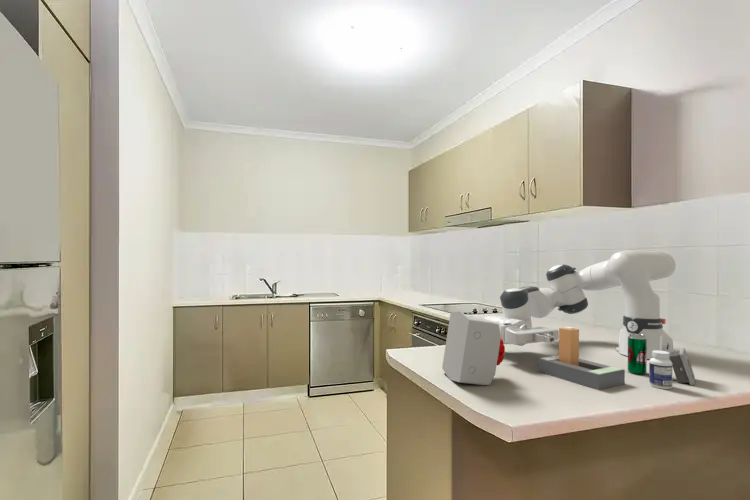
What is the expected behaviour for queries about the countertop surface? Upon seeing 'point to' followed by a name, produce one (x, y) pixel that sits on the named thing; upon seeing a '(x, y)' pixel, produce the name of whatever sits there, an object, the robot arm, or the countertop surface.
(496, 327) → the electrical switch box
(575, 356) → the switch tab
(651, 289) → the robot arm
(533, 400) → the countertop surface
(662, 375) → the pill bottle
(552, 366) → the toggle switch
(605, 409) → the countertop surface
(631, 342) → the soda can
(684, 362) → the electrical switch
